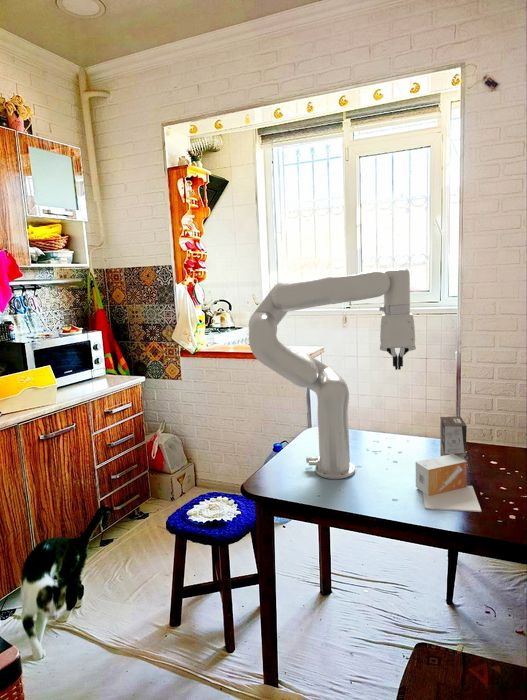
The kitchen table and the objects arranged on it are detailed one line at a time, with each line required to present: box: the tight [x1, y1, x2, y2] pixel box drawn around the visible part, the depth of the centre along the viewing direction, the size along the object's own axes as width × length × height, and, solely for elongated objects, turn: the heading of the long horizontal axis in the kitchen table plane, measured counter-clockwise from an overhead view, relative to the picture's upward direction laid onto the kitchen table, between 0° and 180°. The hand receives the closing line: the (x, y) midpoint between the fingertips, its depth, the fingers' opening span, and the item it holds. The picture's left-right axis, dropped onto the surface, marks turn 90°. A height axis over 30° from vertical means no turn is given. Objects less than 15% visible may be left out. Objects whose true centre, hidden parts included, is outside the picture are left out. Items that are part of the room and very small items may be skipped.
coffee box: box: [439, 416, 468, 461], centre depth 153 cm, size 9×6×16 cm
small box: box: [415, 454, 468, 496], centre depth 143 cm, size 8×6×13 cm
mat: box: [422, 485, 482, 513], centre depth 138 cm, size 14×14×1 cm
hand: (397, 368), depth 154 cm, fingers closed
